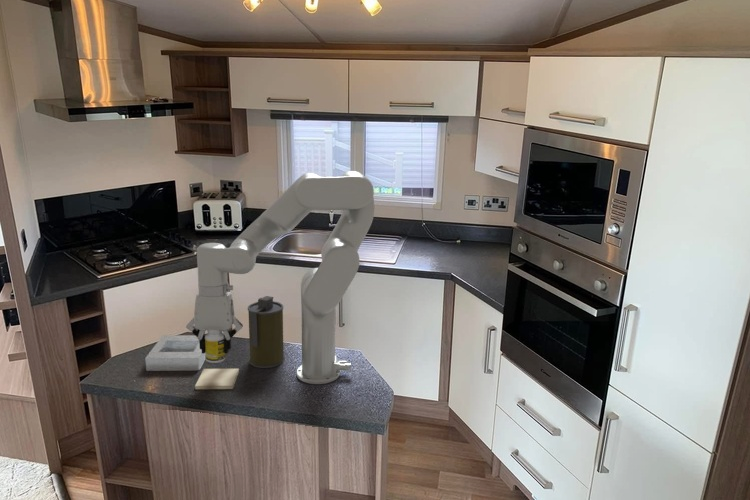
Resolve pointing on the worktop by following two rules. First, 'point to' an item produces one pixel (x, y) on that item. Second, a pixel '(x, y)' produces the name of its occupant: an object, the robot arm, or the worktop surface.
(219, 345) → the supplement bottle
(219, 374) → the oak board
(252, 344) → the canister
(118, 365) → the worktop surface
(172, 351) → the socket block
